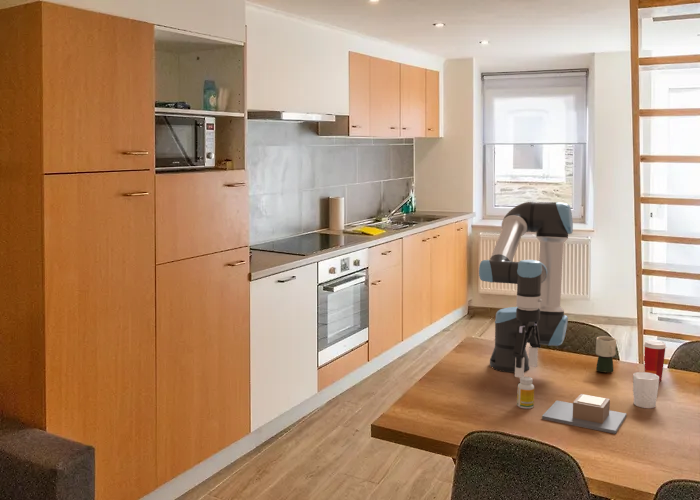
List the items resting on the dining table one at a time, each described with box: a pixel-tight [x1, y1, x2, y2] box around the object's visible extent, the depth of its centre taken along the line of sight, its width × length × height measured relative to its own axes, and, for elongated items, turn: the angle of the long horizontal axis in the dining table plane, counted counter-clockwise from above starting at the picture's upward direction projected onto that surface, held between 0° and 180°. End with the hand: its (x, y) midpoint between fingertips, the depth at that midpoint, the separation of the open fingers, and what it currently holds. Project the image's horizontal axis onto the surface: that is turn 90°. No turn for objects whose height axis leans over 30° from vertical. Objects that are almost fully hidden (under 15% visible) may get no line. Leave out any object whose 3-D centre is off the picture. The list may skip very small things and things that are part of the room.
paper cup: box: [643, 339, 667, 382], centre depth 249 cm, size 8×8×14 cm
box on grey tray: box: [541, 393, 627, 434], centre depth 214 cm, size 22×16×6 cm
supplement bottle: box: [516, 375, 535, 410], centre depth 224 cm, size 5×5×10 cm
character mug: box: [595, 335, 617, 374], centre depth 258 cm, size 11×7×13 cm, turn 6°
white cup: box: [632, 371, 660, 409], centre depth 224 cm, size 8×8×10 cm
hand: (526, 371), depth 222 cm, fingers open, 13 cm apart
